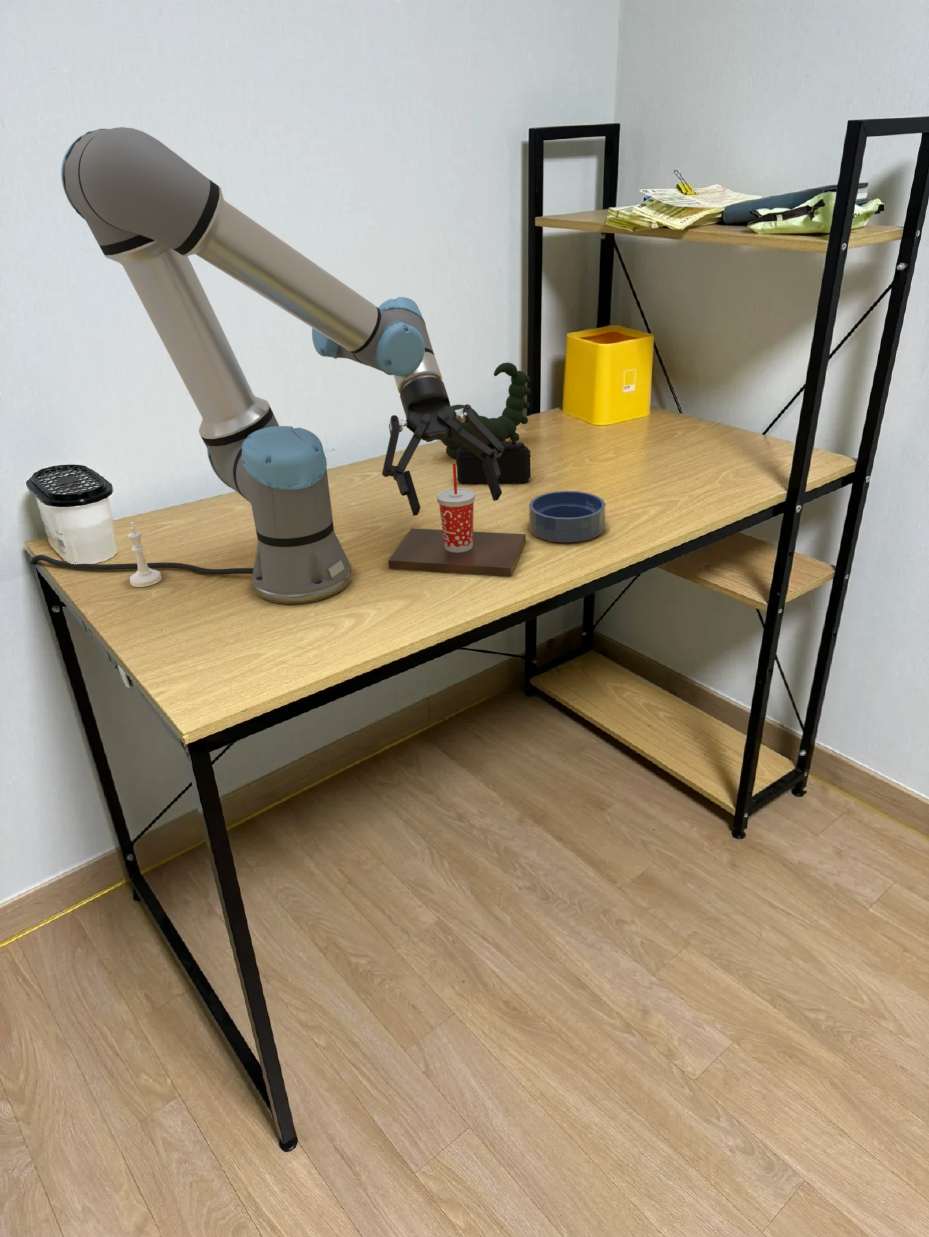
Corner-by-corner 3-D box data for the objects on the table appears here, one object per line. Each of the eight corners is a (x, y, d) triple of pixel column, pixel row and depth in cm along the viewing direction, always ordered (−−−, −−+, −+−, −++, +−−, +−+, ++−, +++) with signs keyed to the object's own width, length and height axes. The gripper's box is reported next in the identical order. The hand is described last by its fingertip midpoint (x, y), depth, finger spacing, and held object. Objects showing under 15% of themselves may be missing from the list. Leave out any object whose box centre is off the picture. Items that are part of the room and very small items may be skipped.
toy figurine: (509, 442, 198) (415, 457, 185) (513, 357, 190) (416, 366, 177) (535, 452, 192) (440, 468, 178) (540, 364, 183) (441, 374, 170)
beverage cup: (435, 542, 144) (429, 461, 137) (470, 536, 146) (466, 455, 139) (446, 557, 139) (441, 473, 132) (482, 550, 141) (479, 467, 134)
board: (388, 568, 140) (387, 560, 139) (411, 536, 151) (411, 528, 150) (511, 576, 135) (511, 567, 135) (525, 542, 146) (525, 534, 146)
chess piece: (129, 589, 138) (114, 530, 133) (130, 576, 142) (115, 519, 137) (161, 584, 139) (147, 526, 134) (162, 571, 143) (148, 514, 138)
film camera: (532, 468, 178) (531, 425, 174) (530, 485, 170) (529, 440, 165) (458, 469, 180) (456, 426, 175) (453, 485, 171) (450, 441, 167)
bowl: (523, 542, 146) (523, 517, 144) (536, 512, 157) (536, 489, 155) (600, 546, 144) (601, 520, 141) (607, 516, 154) (608, 492, 152)
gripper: (486, 390, 150) (523, 501, 144) (344, 410, 142) (378, 528, 137) (497, 364, 143) (536, 480, 138) (349, 385, 135) (385, 508, 130)
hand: (457, 504), depth 137 cm, fingers open, 13 cm apart
